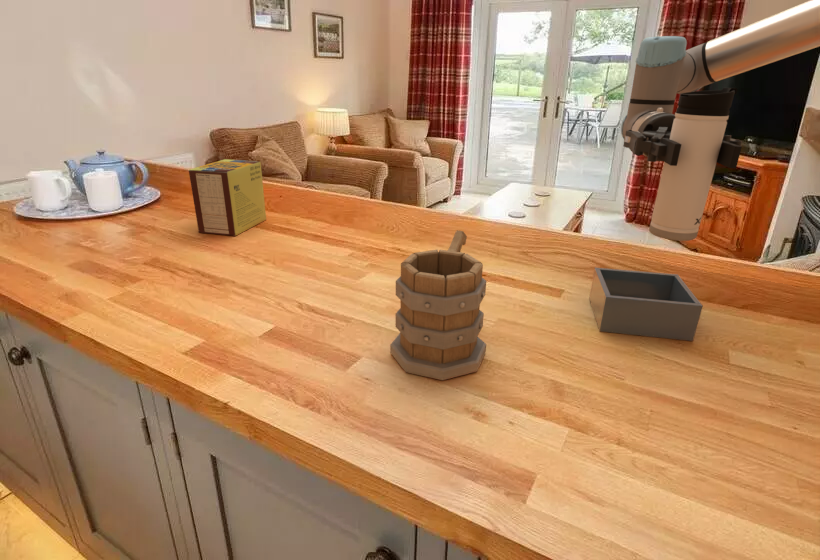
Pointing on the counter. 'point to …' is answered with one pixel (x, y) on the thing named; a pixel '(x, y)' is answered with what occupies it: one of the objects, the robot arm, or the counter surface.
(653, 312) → the holder
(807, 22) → the robot arm
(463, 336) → the tankard
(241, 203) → the protein box
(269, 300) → the counter surface
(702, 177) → the travel mug
